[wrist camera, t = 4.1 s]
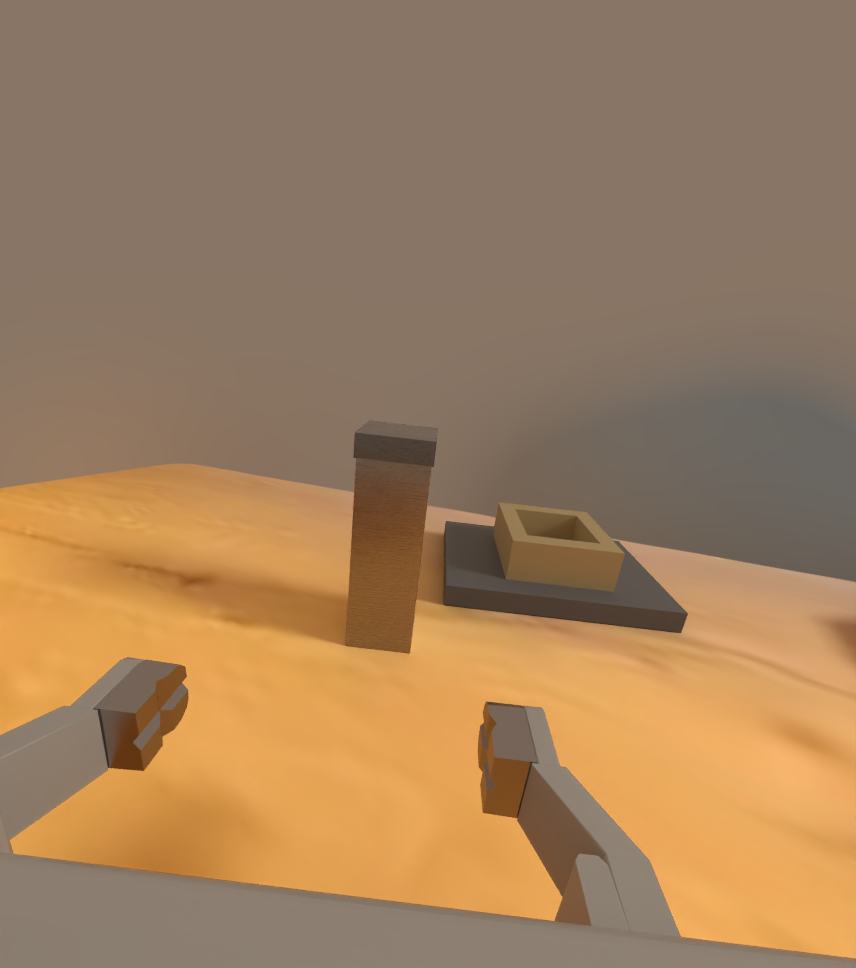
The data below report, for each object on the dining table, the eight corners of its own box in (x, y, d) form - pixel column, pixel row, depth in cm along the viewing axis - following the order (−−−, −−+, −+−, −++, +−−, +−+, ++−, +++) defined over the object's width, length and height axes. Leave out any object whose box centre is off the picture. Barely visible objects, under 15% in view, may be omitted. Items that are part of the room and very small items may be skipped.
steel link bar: (343, 646, 22) (354, 432, 18) (357, 606, 26) (369, 420, 22) (411, 654, 22) (436, 441, 18) (416, 612, 26) (437, 428, 22)
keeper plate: (443, 604, 27) (452, 544, 25) (443, 535, 37) (449, 490, 36) (680, 632, 27) (702, 573, 25) (614, 555, 37) (626, 510, 36)
